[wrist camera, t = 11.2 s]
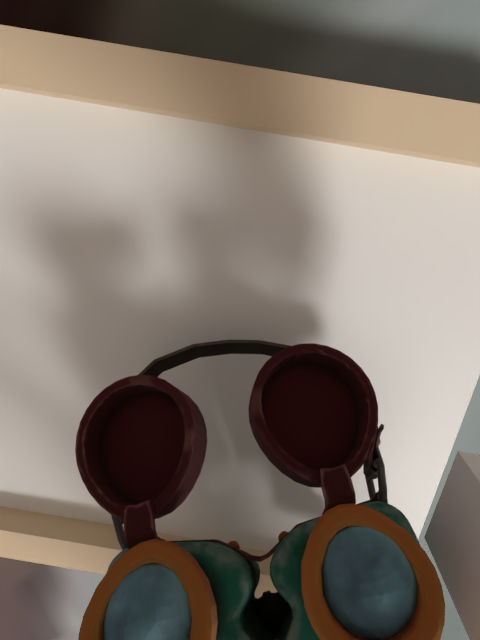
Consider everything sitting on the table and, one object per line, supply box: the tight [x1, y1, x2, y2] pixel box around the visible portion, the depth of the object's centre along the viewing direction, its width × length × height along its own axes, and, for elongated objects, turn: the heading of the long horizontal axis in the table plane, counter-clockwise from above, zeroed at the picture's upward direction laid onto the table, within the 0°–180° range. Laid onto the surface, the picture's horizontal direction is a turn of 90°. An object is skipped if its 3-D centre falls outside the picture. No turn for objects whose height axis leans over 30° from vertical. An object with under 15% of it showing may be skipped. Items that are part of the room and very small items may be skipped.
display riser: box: [0, 25, 480, 599], centre depth 16 cm, size 20×20×3 cm
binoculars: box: [75, 340, 445, 640], centre depth 14 cm, size 9×11×10 cm
